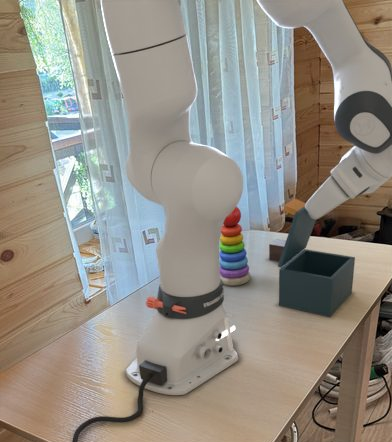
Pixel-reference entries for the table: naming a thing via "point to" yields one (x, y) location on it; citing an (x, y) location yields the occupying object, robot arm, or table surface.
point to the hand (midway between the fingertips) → (312, 214)
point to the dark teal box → (316, 282)
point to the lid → (296, 231)
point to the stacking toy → (233, 251)
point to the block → (276, 249)
